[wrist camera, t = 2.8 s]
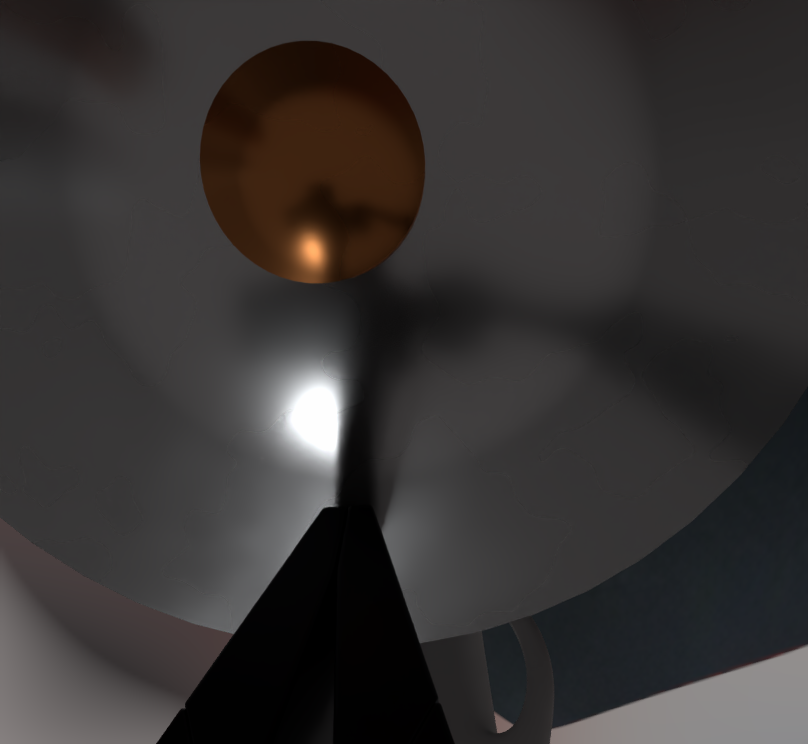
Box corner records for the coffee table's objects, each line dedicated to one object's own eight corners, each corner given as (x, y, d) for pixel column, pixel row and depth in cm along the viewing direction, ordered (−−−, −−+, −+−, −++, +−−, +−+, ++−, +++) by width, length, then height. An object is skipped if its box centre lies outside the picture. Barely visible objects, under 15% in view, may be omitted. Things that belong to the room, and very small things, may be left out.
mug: (405, 610, 31) (404, 874, 21) (338, 558, 28) (299, 836, 18) (545, 553, 28) (623, 833, 18) (485, 487, 25) (538, 778, 15)
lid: (943, -605, 6) (1189, -1008, 4) (772, 595, 10) (856, 674, 8) (-324, -460, 6) (-621, -749, 5) (-12, 616, 10) (-105, 694, 8)
